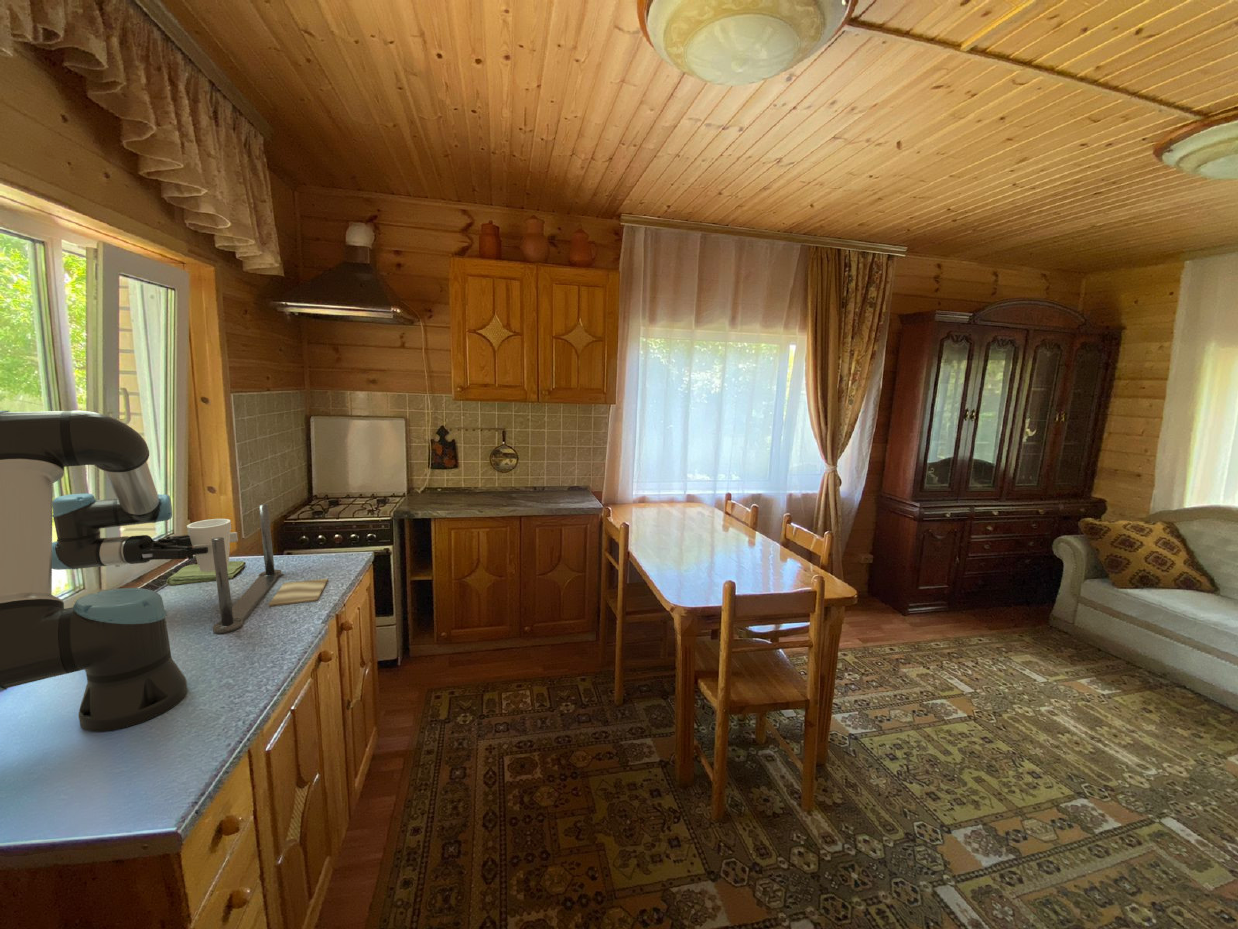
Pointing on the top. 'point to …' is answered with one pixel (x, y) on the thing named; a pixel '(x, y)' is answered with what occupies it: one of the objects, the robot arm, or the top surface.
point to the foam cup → (209, 539)
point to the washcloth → (201, 574)
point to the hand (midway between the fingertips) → (230, 542)
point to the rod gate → (243, 607)
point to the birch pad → (299, 592)
